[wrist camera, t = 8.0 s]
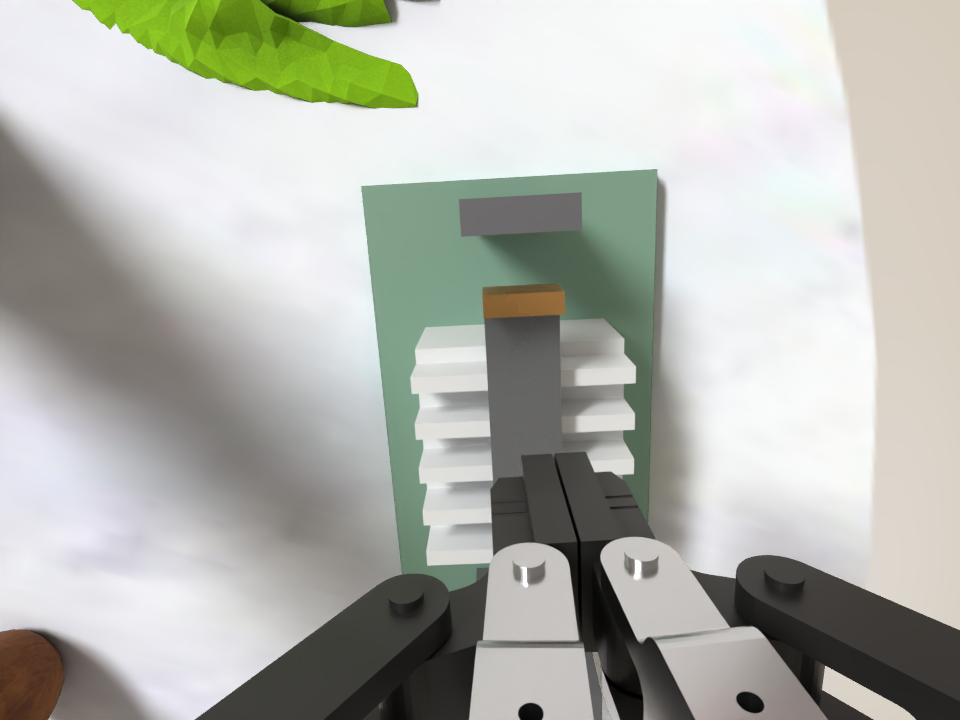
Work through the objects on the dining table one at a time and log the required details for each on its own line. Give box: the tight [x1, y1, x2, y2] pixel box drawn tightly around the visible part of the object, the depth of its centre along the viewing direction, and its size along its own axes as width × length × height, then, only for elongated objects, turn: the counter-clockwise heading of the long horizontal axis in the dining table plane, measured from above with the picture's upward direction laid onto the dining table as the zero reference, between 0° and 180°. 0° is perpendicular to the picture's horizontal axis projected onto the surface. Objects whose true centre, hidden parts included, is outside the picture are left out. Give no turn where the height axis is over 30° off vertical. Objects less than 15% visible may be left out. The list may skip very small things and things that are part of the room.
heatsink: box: [361, 169, 657, 720], centre depth 27 cm, size 14×25×10 cm, turn 3°
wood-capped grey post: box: [482, 283, 565, 485], centre depth 23 cm, size 19×3×2 cm, turn 3°
